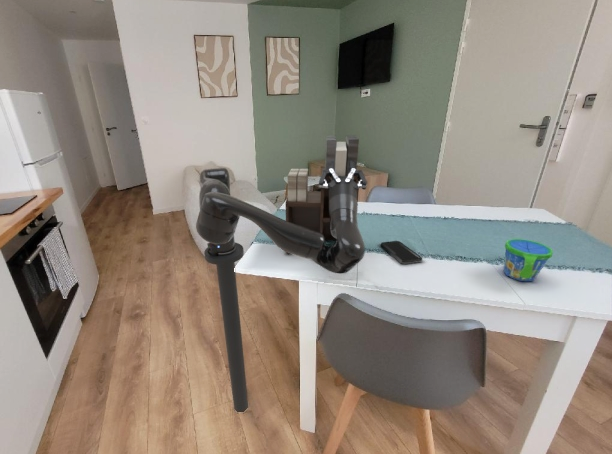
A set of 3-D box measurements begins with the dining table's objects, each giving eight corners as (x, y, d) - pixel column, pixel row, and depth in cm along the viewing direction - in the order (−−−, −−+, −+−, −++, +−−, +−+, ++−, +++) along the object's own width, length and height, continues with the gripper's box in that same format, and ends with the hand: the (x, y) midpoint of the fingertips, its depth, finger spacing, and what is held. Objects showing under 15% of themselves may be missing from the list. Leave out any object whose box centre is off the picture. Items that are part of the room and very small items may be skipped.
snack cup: (541, 294, 81) (554, 262, 77) (494, 281, 87) (504, 251, 83) (541, 270, 91) (552, 241, 87) (499, 260, 98) (508, 233, 94)
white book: (344, 181, 86) (346, 150, 82) (334, 181, 86) (336, 150, 83) (344, 167, 104) (345, 141, 100) (335, 167, 104) (336, 141, 101)
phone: (398, 240, 112) (423, 259, 98) (398, 243, 113) (423, 261, 99) (379, 242, 111) (402, 261, 98) (379, 245, 112) (401, 264, 98)
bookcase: (352, 257, 104) (363, 139, 88) (286, 254, 108) (284, 141, 92) (349, 241, 116) (358, 134, 101) (290, 238, 121) (289, 136, 105)
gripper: (316, 212, 84) (318, 172, 94) (368, 213, 81) (364, 171, 91) (316, 194, 78) (318, 153, 88) (372, 194, 75) (367, 152, 85)
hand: (341, 163), depth 90 cm, fingers open, 5 cm apart
